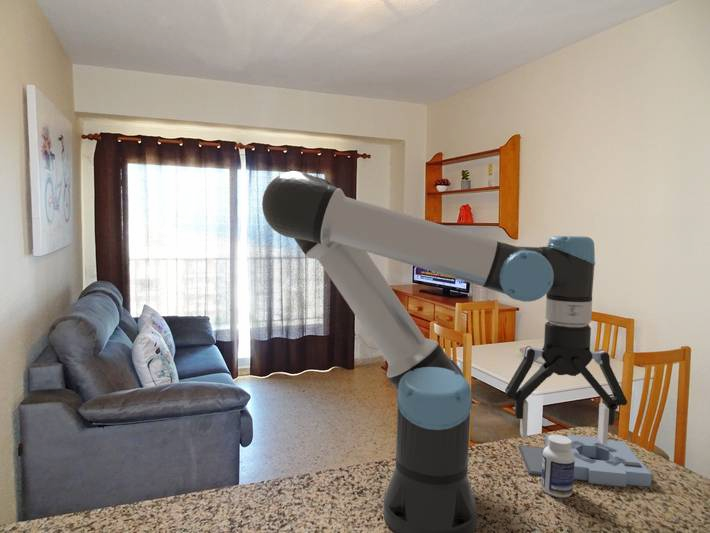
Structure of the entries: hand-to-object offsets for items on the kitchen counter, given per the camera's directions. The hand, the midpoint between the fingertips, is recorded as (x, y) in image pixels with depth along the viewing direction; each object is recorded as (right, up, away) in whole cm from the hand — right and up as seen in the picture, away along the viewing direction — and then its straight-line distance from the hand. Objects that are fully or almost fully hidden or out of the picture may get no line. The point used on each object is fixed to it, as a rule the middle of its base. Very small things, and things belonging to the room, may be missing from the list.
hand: (562, 438), depth 89 cm
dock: (+11, -9, +11) cm, 18 cm away
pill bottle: (-1, -10, +1) cm, 10 cm away
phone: (0, -10, +12) cm, 15 cm away
